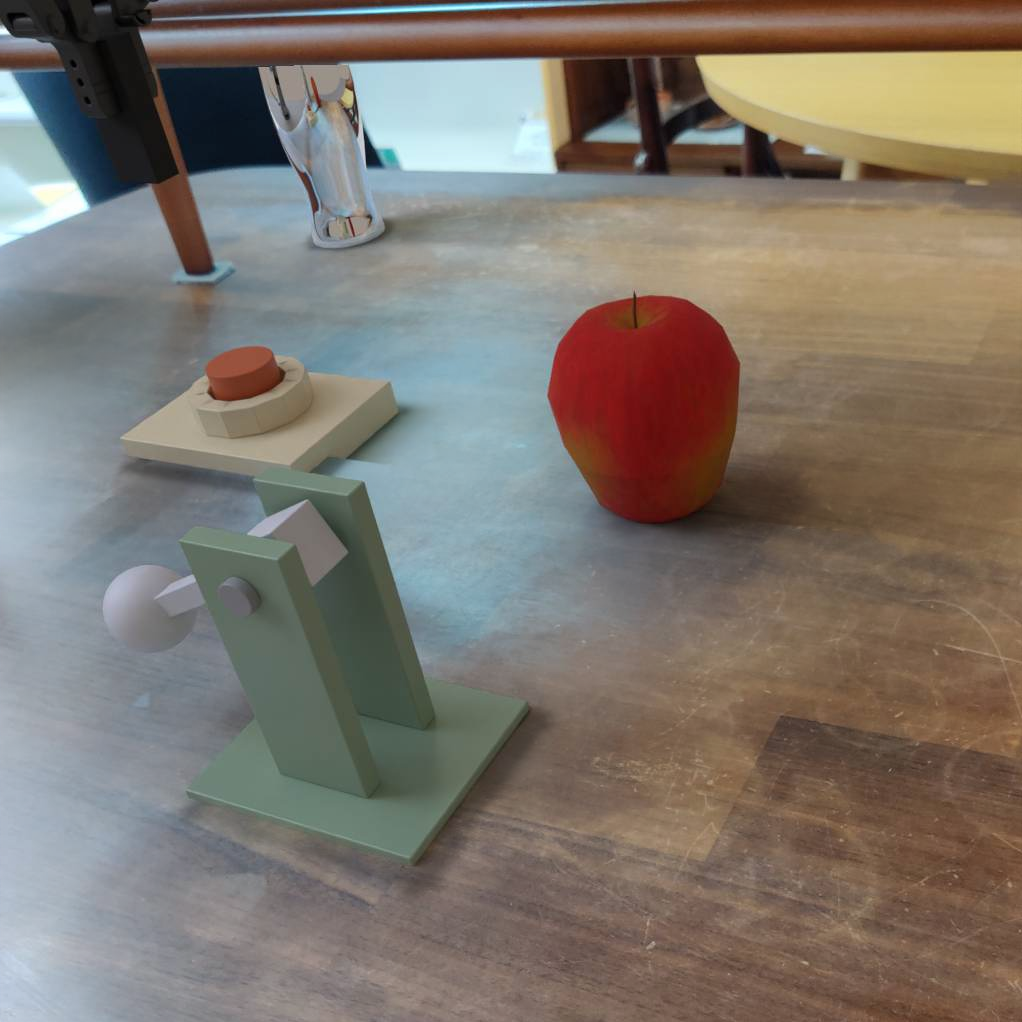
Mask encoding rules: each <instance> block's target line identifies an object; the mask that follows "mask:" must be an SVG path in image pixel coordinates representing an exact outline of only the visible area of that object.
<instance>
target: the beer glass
mask: <svg viewBox="0 0 1022 1022" xmlns="http://www.w3.org/2000/svg"><path fill="white" fill-rule="evenodd" d="M257 68H258V73H259V78H260V79H259V80H260V82H261V87H262V91H263V95H264V99H265V102H266V107H267V111H268V113H269V116H270V119H271V123H272V124H273V128H274V130H275V132H276V135H277V137H278V139H279V141H280V144H281V146H282V149H283V150H284V153H285V154H286V157H287V159H288V162H289V163H290V165H291V167H292V169H293V171H294V173H295V175H296V178H297V180H298V182H299V184H300V186H301V189H302V191H303V194H304V197H305V201H306V203H307V209H308V212H309V213H308V214H309V219H310V227H311V229H310V230H311V237H312V242H313V243H314V245H315V246H317V247H320V248H322V249H344V248H350V247H355V246H359V245H362V244H365V243H368V242H371V241H372V240H374V239H376V238H378V237H380V236H381V235H382V234H383V233H384V232H385V230H386V226H385V222H384V220H383V217H382V216H381V213H380V211H379V209H378V206H377V205H376V203H375V199H374V198H373V194H372V190H371V188H370V182H369V177H368V169H367V162H366V161H367V160H366V148H365V147H366V146H365V137H364V126H363V119H362V113H361V107H360V106H361V105H360V101H359V97H358V93H357V88H356V85H355V82H354V79H353V74H352V72H351V68H350V65H349V64H348V65H294V66H270V67H258V66H257Z"/></svg>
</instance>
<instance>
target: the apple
mask: <svg viewBox="0 0 1022 1022" xmlns="http://www.w3.org/2000/svg"><path fill="white" fill-rule="evenodd" d="M734 349H735V348H734V347H733V345H732V343H731V341H730V339H729V337H728V335H727V332H726V330H725V328H724V326H723V325H722V324H721V323H720V322H718V320H716V318H715V317H714V316H712V315H711V314H710V313H709V312H707V311H706V310H704V309H702V308H701V307H700V306H698V305H697V304H695V303H693V302H692V301H690V300H689V299H686V298H683V297H682V298H681V297H677V296H671V295H654V294H649V295H648V294H647V295H642V296H637V294H636V292H635V290H633V295H632V297H628V298H623V299H618V300H613V301H608V302H604V303H602V304H598V305H597V306H594V307H591V308H589V309H586V311H585V312H583V313H582V315H580V316H579V317H578V318H577V319H576V320H575V322H574V323H573V324H572V325H571V326H570V328H569V329H568V331H566V333H565V334H564V336H563V337H562V338H561V339H560V341H559V342H558V344H557V347H556V350H555V353H554V357H553V361H552V367H551V372H550V378H549V383H548V389H547V394H546V397H547V400H548V403H549V405H550V409H551V411H552V415H553V418H554V421H555V424H556V426H557V430H558V432H559V436H560V438H561V442H562V444H563V447H564V449H565V450H566V451H567V453H568V455H569V456H570V457H571V459H572V461H573V462H574V464H575V466H576V468H577V469H578V470H579V473H580V474H581V475H582V477H583V479H584V480H585V482H586V484H587V485H588V487H589V489H590V490H591V492H592V494H593V495H594V496H595V498H596V500H597V502H598V503H599V505H600V506H601V507H603V508H605V509H607V510H608V511H610V512H612V513H614V514H616V515H618V516H620V517H622V518H624V519H626V520H630V521H635V522H639V523H667V522H671V521H675V520H677V519H681V518H686V517H687V516H690V514H692V513H693V512H697V511H699V510H700V509H701V508H702V507H703V506H704V505H705V504H707V502H708V501H710V500H711V499H712V498H713V496H714V495H715V494H716V492H718V490H719V489H720V487H721V486H722V485H723V482H724V478H725V473H726V470H727V466H728V463H729V459H730V455H731V452H732V447H733V444H734V441H735V436H736V431H737V423H738V417H739V416H738V414H739V394H740V374H741V361H740V359H739V358H738V355H737V353H736V351H735V350H734Z"/></svg>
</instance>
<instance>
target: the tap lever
mask: <svg viewBox="0 0 1022 1022" xmlns="http://www.w3.org/2000/svg"><path fill="white" fill-rule="evenodd" d="M245 534H246V535H251V536H257V537H262V538H267V539H273V540H278V541H283V542H288V543H294V544H296V546H297V549H298V552H299V554H300V557H301V560H302V563H303V565H304V568H305V571H306V574H307V577H308V579H309V582H310V585H311V588H312V587H314V586H315V585H316V584H317V583H318V582H319V581H320V580H321V579H322V578H323V577H324V576H325V575H326V574H327V573H328V572H329V571H330V570H331V569H332V568H333V567H334V566H335V565H337V564H338V563H339V562H340V561H341V560H342V559H343V558H344V557H345V556H346V555H347V554H348V551H347V549H346V548H345V547H344V545H343V544H342V543H341V541H340V540H339V539H338V537H337V536H336V535H335V533H334V532H333V531H332V529H331V528H330V527H329V526H328V524H327V523H326V522H325V520H324V519H323V518H322V516H321V515H320V514H319V512H318V511H317V510H316V508H315V507H314V506H313V504H312V503H311V502H310V500H308V499H307V500H305V501H302V502H300V503H298V504H296V505H294V506H291V507H289V508H287V509H285V510H283V511H280V512H278V513H276V514H274V515H272V516H269V517H265V518H263V519H262V520H261V521H260V522H259V523H257V524H256V526H254V527H253V528H252V529H251V530H250V531H249V532H247V533H245ZM203 605H206V603H205V601H204V598H203V596H202V594H201V591H200V589H199V587H198V584H197V582H196V580H195V578H194V575H193V573H192V574H190V575H188V576H185V577H183V576H182V575H181V574H179V573H178V572H176V571H174V570H172V569H170V568H168V567H165V566H161V565H155V564H143V565H139V566H138V565H137V566H134V567H131V568H128V569H127V570H124V571H123V572H121V573H120V574H119V575H117V576H116V577H115V578H114V579H113V580H112V582H111V583H110V584H109V586H108V587H107V589H106V591H105V594H104V597H103V600H102V616H103V620H104V623H105V625H106V628H107V629H108V632H109V633H110V634H111V635H112V636H113V638H114V639H115V640H117V642H119V644H121V645H123V646H125V647H126V648H128V649H131V650H133V651H136V652H140V653H141V652H142V653H146V654H147V653H149V654H150V653H151V654H153V653H160V652H161V653H162V652H164V651H165V652H166V651H168V650H170V649H173V648H174V647H176V646H178V645H179V644H181V643H182V642H183V641H184V640H185V639H187V637H188V636H189V635H190V634H191V632H192V630H193V628H194V627H195V623H196V622H197V617H198V608H199V607H201V606H203Z"/></svg>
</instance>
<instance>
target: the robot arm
mask: <svg viewBox="0 0 1022 1022" xmlns="http://www.w3.org/2000/svg"><path fill="white" fill-rule="evenodd" d="M159 1H160V0H0V21H1V22H2V24H3V26H4V28H5V30H6V31H7V32H8V33H9V35H10V36H12V37H13V38H15V39H29V40H36V41H37V42H39V43H41V44H50V45H51V46H53V48H54V49H55V50H56V52H57V54H58V56H59V58H60V61H61V63H62V66H63V68H64V71H65V74H66V76H67V79H68V81H69V84H70V85H71V89H72V92H73V95H75V97H74V98H75V100H76V102H77V105H78V107H79V109H80V110H81V112H82V113H83V114H84V116H85V117H86V118H87V119H94V120H95V123H96V125H97V128H98V131H99V133H100V136H101V139H102V141H103V144H104V146H105V147H104V148H105V149H106V152H107V154H108V157H109V159H110V162H111V165H112V167H113V170H114V173H115V175H116V178H117V180H118V182H119V183H132V184H148V185H149V184H151V185H160V184H162V183H164V182H166V181H167V180H170V179H172V178H175V176H178V175H180V171H179V168H178V164H177V163H176V160H175V157H174V154H173V151H172V148H171V146H170V142H169V139H168V137H167V134H166V131H165V128H164V126H163V122H162V120H161V116H160V114H159V111H158V108H157V105H156V103H155V99H156V98H158V97H159V89H158V88H159V87H158V82H157V79H156V77H155V73H154V72H153V68H152V65H151V62H150V59H149V55H148V53H147V50H146V48H145V44H144V42H143V38H142V36H141V33H140V30H139V28H147V27H148V26H150V25H151V23H152V21H153V11H152V9H151V8H147V9H146V7H147V6H148V5H149V4H150V3H158V2H159Z"/></svg>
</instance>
